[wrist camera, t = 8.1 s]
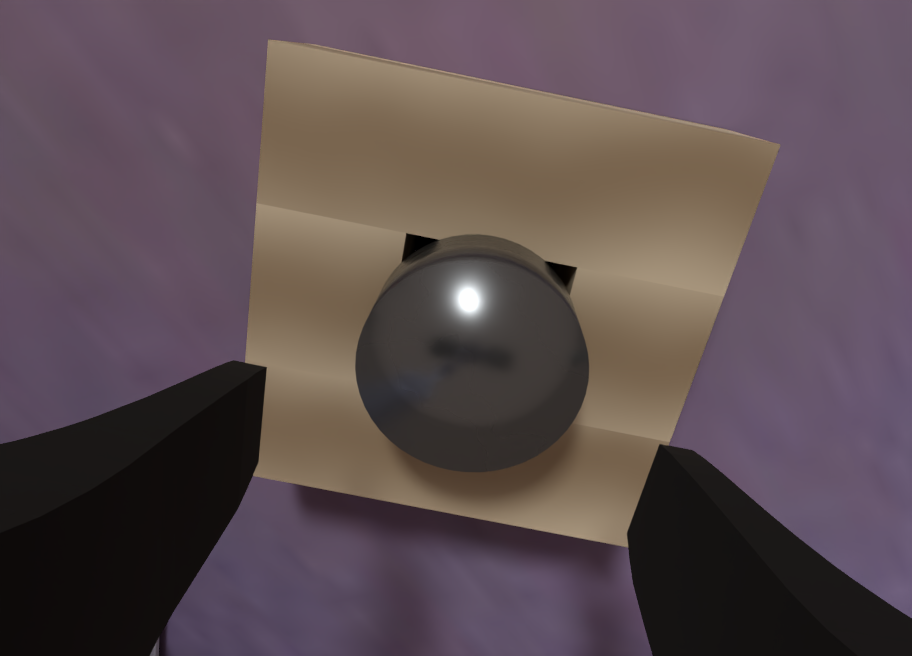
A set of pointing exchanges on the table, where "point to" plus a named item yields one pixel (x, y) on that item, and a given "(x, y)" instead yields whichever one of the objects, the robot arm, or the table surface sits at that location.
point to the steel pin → (473, 355)
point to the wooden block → (496, 214)
